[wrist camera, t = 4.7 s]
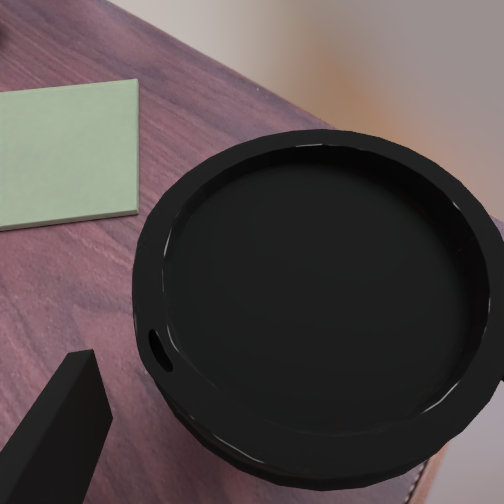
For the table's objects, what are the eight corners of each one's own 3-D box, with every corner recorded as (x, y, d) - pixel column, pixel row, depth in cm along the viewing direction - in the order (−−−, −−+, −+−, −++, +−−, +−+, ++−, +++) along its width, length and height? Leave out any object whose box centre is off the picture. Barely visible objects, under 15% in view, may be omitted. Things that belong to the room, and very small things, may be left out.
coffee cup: (180, 346, 21) (49, 193, 7) (297, 277, 23) (359, 58, 9) (255, 491, 17) (262, 687, 4) (384, 395, 19) (670, 318, 6)
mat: (139, 84, 31) (137, 78, 31) (139, 214, 25) (136, 209, 25) (0, 98, 31) (-4, 92, 30) (-36, 235, 24) (-42, 231, 24)
